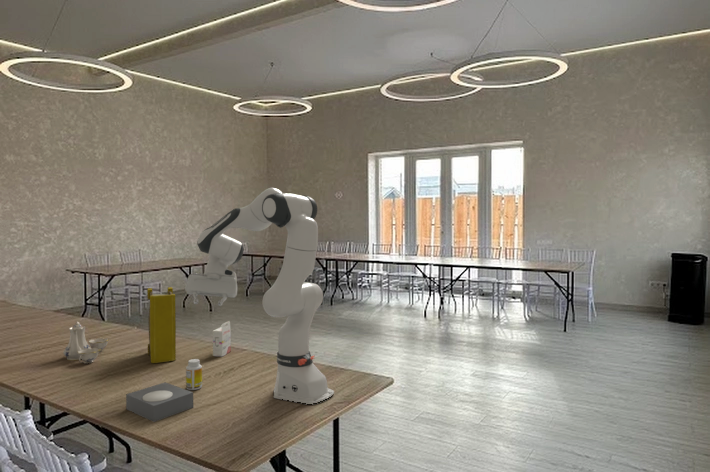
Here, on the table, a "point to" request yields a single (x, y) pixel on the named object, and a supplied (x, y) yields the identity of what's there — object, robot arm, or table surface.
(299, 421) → the table surface
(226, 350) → the ink cartridge box
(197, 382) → the supplement bottle
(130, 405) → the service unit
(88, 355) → the chinaware
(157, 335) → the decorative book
